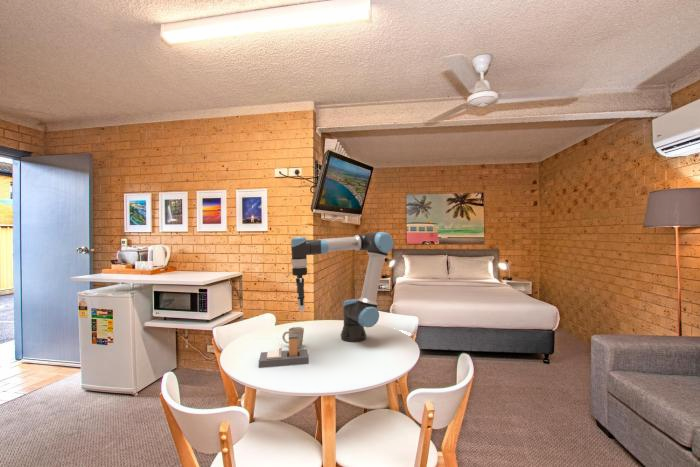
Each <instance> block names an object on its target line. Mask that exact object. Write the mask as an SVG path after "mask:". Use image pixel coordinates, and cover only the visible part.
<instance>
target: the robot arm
mask: <svg viewBox="0 0 700 467" xmlns="http://www.w3.org/2000/svg"><path fill="white" fill-rule="evenodd" d="M290 248H291V249H290V250H291V261H290V264H291V267H292V268H291V274H292V276H295V277H296V278H295V282H296V289H297V290H296V292H297V293H296V294H297V295H296V296H297V307H298V313H304V312H306V310H305V309H306V308H305V306H306V305H305V288H304V287H305V278H304V277H303V276H306V275H308V268H307V266H308V260H307V259H308V258H307V256H311V255H312V256H313V255H324V254H325V255H326V254H327V253H328V252H329V253H330V252H338V251H353V250H356V251H357V252H358V251H362V252H363V251H364V252H365V251H367V255H368V262H367V266H366V272H365V277H364V281H363V286H362V290H361V295H360V297H359V298H353V299H352V298H351V299H346V300H344V301H343V306H342V307H343V326H342V330H341V332H340V340H342V341H344V342H351V343H355V342H356V341H358V342H362V340H363V341H365V340H366V339H367V333H366V330H365V328H372V327H374V326H375V325H376V324H377V323H378V321H379V318H380V312H379V310H378V305H379V304H378V303H377V297H378V291H379V286H380V281H381V276H382V272H383V267H384V260H385V259H386V258H388V255H389V253H390V252H391V251H392V250H393V248H394V238H392V236H391V235H390V233H388V232H385V231H378V232H377V231H374V232H367V233H362V234H355V235H354V236H348V237H347V236H345V237H332V238H330V237H329V238H320V239H318V238H317V239H307V238H306V237H305V236H297V237H295V236H293V237H292V238H291V241H290ZM364 339H365V340H364ZM356 343H357V342H356Z"/></svg>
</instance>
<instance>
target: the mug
mask: <svg viewBox="0 0 700 467" xmlns="http://www.w3.org/2000/svg"><path fill="white" fill-rule="evenodd" d="M304 333H305V328H304V327H300V326H293V327H290V328H289V329H288V330H287V331H284V333H283V334H282V340H283V342H284V343H286V344H288V345H289V341H287V340H286V339H285V336H286V335H287V334H288V335H289V334H297V335H298V339H297V350H300V349H302V347H303V342H304V341H303V340H304Z"/></svg>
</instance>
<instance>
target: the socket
mask: <svg viewBox="0 0 700 467" xmlns="http://www.w3.org/2000/svg"><path fill="white" fill-rule="evenodd" d="M267 353H268V351H261V352H260V356H259V359H258V368H259V369H260V368H273V367H283V366H284V367H286V366H297V365H306V364H309V353H308V349H307V348H299V349H297V355H298V356H291V357H289V349H288V350H287V349H286V350H282V356H281V358H274V359H267Z"/></svg>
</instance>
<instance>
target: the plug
mask: <svg viewBox="0 0 700 467" xmlns="http://www.w3.org/2000/svg"><path fill="white" fill-rule="evenodd" d="M297 339H298V335H297V334H288V342H289V344H288V350H289V357H291V356H298V355H297V350H298V349H297Z"/></svg>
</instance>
